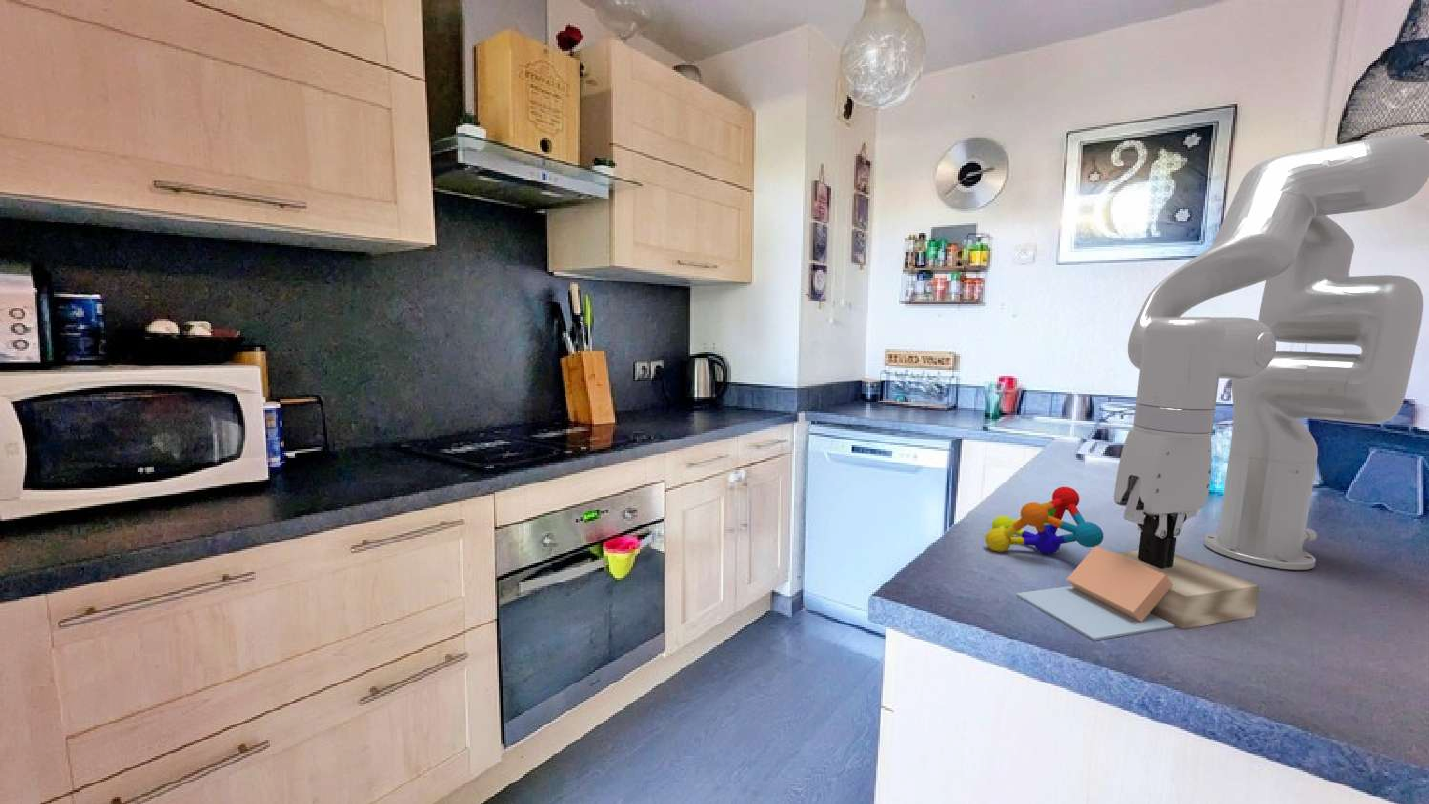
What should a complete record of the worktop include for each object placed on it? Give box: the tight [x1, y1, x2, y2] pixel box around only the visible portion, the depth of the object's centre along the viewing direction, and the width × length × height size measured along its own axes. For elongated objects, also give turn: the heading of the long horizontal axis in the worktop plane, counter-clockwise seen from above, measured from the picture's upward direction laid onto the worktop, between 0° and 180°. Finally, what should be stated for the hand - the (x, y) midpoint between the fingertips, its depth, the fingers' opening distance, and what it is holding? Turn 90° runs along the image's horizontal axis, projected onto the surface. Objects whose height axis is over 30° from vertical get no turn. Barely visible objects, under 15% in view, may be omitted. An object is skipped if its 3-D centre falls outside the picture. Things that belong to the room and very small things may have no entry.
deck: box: [1114, 549, 1260, 630], centre depth 73 cm, size 12×12×4 cm
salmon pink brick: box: [1066, 545, 1173, 622], centre depth 70 cm, size 6×9×2 cm
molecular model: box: [985, 486, 1104, 555], centre depth 88 cm, size 15×10×15 cm
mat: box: [1015, 585, 1175, 642], centre depth 69 cm, size 12×11×1 cm
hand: (1154, 563), depth 72 cm, fingers closed
